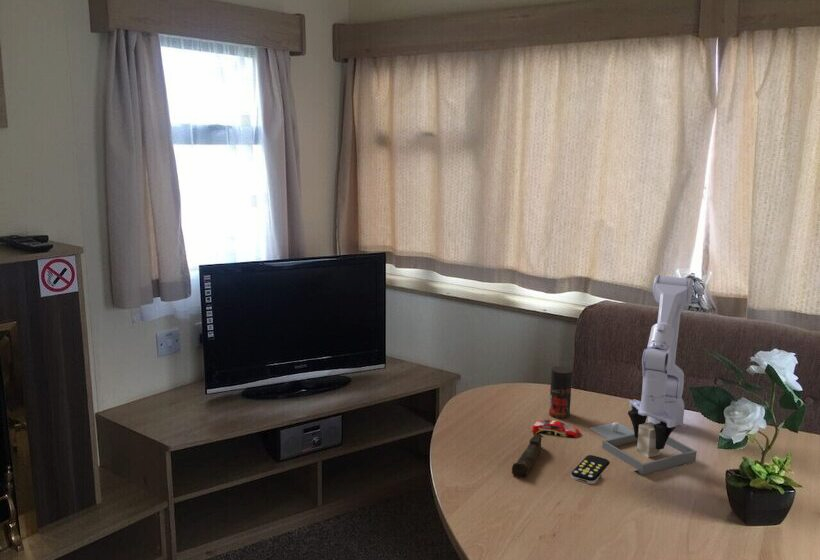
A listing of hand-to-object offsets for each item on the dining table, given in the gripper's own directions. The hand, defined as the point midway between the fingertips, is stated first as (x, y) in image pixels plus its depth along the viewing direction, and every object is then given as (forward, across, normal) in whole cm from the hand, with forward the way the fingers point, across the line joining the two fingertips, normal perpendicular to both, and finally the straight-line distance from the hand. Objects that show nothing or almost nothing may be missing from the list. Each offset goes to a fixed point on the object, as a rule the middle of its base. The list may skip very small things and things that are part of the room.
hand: (649, 442), depth 191 cm
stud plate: (+4, -14, +1) cm, 15 cm away
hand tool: (+4, -11, -30) cm, 32 cm away
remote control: (+5, 0, -19) cm, 19 cm away
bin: (+4, 0, 0) cm, 4 cm away
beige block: (+3, 0, 0) cm, 3 cm away
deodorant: (+4, -30, -6) cm, 31 cm away
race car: (+4, -21, -14) cm, 25 cm away
